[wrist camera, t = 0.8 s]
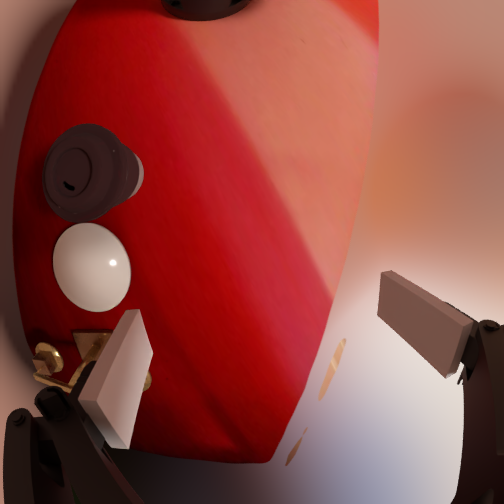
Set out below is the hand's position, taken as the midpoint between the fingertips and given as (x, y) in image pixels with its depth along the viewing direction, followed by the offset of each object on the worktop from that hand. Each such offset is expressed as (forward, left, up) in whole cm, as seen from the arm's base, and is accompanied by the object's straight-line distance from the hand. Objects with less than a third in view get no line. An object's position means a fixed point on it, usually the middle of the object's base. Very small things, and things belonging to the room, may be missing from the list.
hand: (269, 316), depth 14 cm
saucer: (+3, -23, -26) cm, 34 cm away
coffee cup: (-10, -16, -26) cm, 32 cm away
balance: (+17, -26, -26) cm, 40 cm away
